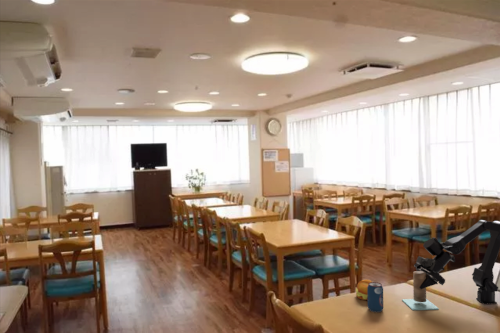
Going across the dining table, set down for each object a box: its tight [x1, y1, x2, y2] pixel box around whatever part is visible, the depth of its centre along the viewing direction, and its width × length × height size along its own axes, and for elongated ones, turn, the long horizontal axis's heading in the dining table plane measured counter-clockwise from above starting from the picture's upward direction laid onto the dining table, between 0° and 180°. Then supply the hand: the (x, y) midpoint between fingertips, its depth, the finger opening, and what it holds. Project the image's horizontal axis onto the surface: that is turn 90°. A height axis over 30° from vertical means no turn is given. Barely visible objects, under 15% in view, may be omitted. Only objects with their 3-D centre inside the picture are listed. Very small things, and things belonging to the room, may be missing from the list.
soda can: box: [367, 281, 384, 313], centre depth 181 cm, size 7×7×12 cm
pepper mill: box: [412, 270, 427, 302], centre depth 185 cm, size 6×6×13 cm
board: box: [401, 298, 439, 311], centre depth 186 cm, size 12×12×1 cm
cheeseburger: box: [355, 279, 373, 301], centre depth 196 cm, size 10×11×10 cm
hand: (416, 286), depth 185 cm, fingers closed on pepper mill, 5 cm apart
